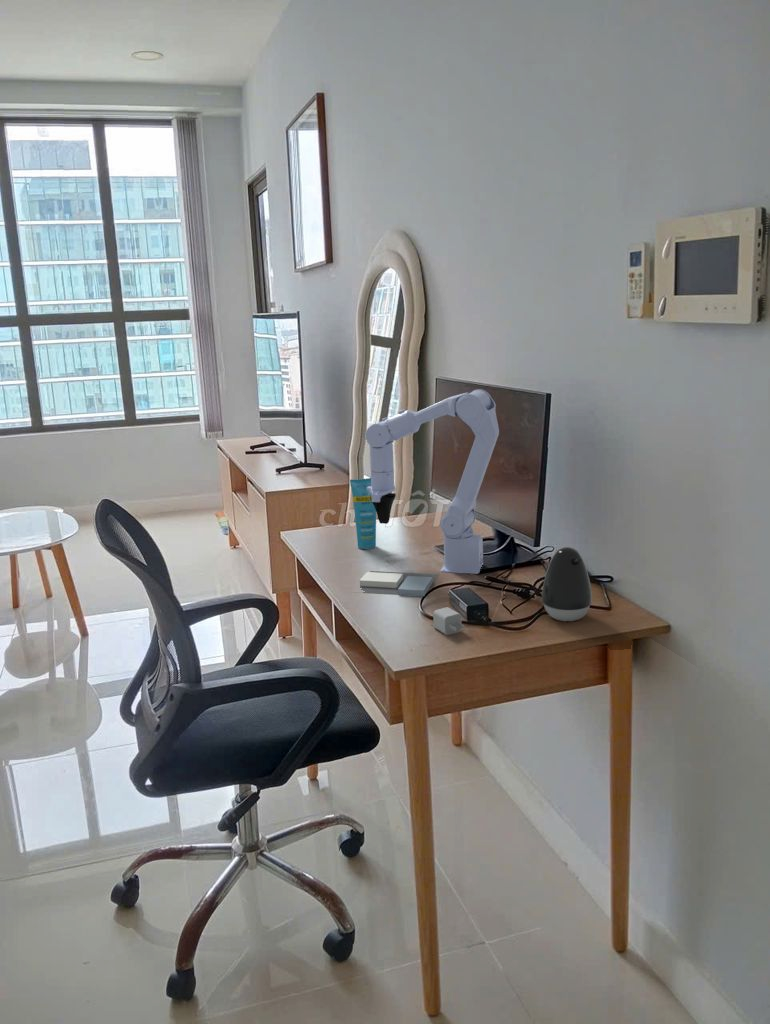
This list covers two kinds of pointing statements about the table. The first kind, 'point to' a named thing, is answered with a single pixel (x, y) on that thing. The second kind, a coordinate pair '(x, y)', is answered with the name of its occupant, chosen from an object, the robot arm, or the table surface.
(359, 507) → the tube
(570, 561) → the grey egg shaped device
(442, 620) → the usb wall charger
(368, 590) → the mat
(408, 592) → the slate board
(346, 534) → the table surface
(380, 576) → the cream board
